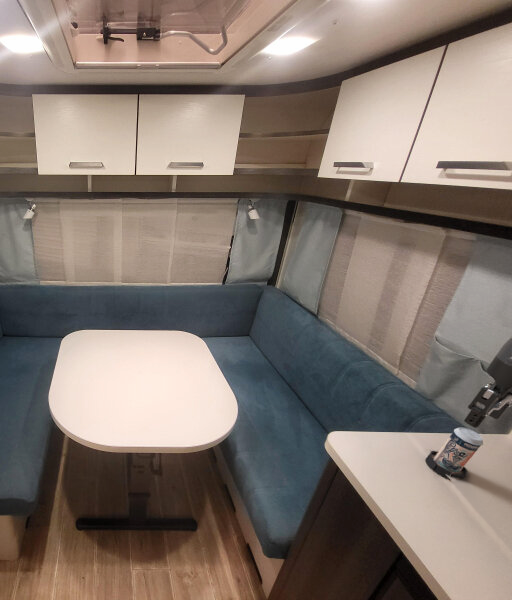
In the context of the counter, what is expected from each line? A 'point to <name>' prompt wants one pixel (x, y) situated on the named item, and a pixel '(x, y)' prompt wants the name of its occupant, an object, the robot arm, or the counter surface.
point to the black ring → (441, 470)
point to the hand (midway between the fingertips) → (481, 420)
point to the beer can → (458, 449)
